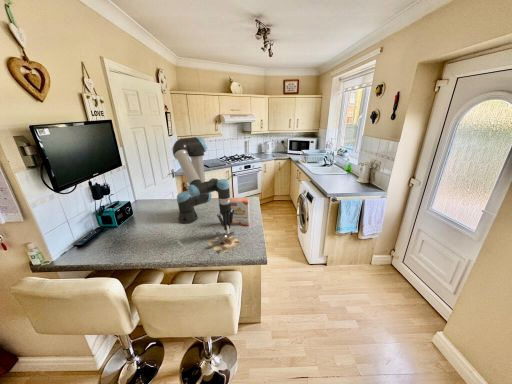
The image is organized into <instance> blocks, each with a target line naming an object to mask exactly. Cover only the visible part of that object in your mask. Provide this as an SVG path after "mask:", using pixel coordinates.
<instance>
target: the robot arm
mask: <svg viewBox="0 0 512 384" xmlns="http://www.w3.org/2000/svg"><path fill="white" fill-rule="evenodd" d="M206 152H207V144H206V142H205V140H204V138H202V137H201V136H193V137H185V138H182V137H181V138H178V139H177V140H175V142H174V144H173V146H172V155H173V157H174V159H175V160H177V162H178V164H179V166H180V169H181V170H182V172H183V174H184V176H185V178H186V180H187V182H188V184H189V185H188V187H187V190H184V191H182V192H179V193H178V194H177V195H176V201H177V207H178V212H179V213H178V217H177V218H178V222H179V223H180V224H182V225H185V224H186V225H187V224H191V223H194V222H196V221H197V220H198V219H199V218H198V217H199V216H198V213H197V212H196V210H195V207H196V206H200V205H203V204H206V203H209V202H210V201H211V200H212V193H213V192H216V193H217V195H218V206H219V212H218V213H217V214H216V217H217V218H218V220H219V223H220V225H221V227H223V229H224V233H226V234H229V233H230V229H231V225H232V224H231V223H232V220H233V213H234V210H233V209H231V203H230V199H231V191H230V190H231V189H230V181H229V180H228V179H225V178H220V179H218V178H215V177H212V178H211V179H209V180H207V181H206V176H205V175H206V174H205V166H204V160H203V158H204V157H205V153H206Z"/></svg>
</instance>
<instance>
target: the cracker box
mask: <svg viewBox="0 0 512 384" xmlns="http://www.w3.org/2000/svg"><path fill="white" fill-rule="evenodd" d="M230 203H231V209H233V210H234V213H233V220H232V223H231V225H239V226H243V227H244V226H247V227H249V226H250V221H251V220H250V219H251V217H250V214H251V213H250V198H240V197H239V198H235V197H234V198H233V197H230Z"/></svg>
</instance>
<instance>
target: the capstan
mask: <svg viewBox="0 0 512 384" xmlns="http://www.w3.org/2000/svg"><path fill="white" fill-rule="evenodd" d="M215 233H216V234H215V235H216V236H217V237H220V238H218V239H216V240H213V241H212V244H213V245H214V244H216V243H219V242H220V243H221V244H229V245H231V244H232V242H231V241H230V240H229V239H228V238H229V237H231V236H233V237H234V235H235V232H234V231H231V232H229V234H226V232H222V233H221V232H220V231H216V232H215Z"/></svg>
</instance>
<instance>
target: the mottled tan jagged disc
mask: <svg viewBox="0 0 512 384" xmlns="http://www.w3.org/2000/svg"><path fill="white" fill-rule="evenodd" d="M218 238H220V237H219V236H217V237H215V238H212V239H210V240H209V241H208V240H207V241H206V244H208V245H209V246H210V248H212V249H213V250H214V251H215V252H216V253H217V254H219V255H222V254H224V253H225V252H227V251H229V250H231V249H233V248H235V247H238V245H241V244H242V242H241V241H240V240H239V239H237V238H236V237H235V236H234V235H233V236H231V237H229V238H228V239H229V240H230V241H231V242H232V244H231V245H229V244H221V243H220V242H219V243H216V244H214V245H213V244H212V241H213V240H216V239H218Z"/></svg>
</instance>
